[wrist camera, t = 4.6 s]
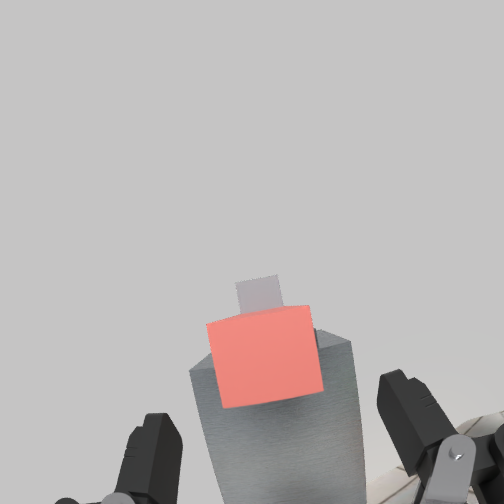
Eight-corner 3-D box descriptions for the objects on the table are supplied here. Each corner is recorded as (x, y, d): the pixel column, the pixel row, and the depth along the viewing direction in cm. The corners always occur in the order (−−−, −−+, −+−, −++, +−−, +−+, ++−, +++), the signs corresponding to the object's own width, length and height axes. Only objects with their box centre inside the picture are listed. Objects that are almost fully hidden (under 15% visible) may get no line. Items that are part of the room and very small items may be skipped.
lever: (285, 335, 34) (274, 281, 35) (323, 390, 11) (293, 229, 12) (251, 341, 34) (241, 287, 35) (223, 408, 11) (193, 248, 12)
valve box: (345, 528, 26) (318, 316, 32) (364, 578, 14) (347, 321, 21) (263, 543, 26) (213, 336, 32) (261, 596, 14) (185, 351, 21)
